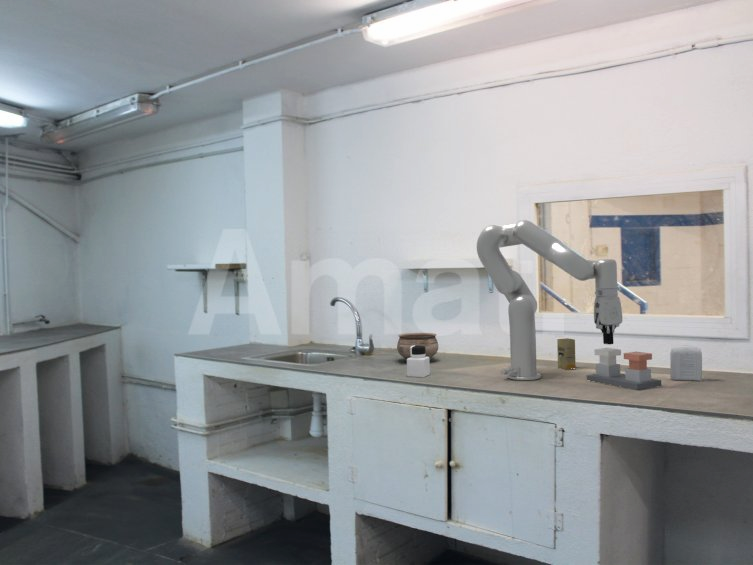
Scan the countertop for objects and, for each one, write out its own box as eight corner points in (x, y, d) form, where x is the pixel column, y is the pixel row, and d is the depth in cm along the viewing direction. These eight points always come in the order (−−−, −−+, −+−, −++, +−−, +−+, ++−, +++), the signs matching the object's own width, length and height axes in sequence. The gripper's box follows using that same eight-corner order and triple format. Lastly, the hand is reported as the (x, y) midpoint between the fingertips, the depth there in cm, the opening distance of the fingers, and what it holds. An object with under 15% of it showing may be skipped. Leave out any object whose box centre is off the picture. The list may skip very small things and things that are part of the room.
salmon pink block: (639, 372, 211) (639, 355, 211) (623, 370, 216) (623, 353, 216) (652, 370, 214) (651, 353, 214) (636, 368, 219) (636, 351, 219)
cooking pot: (418, 356, 301) (417, 331, 301) (450, 359, 289) (450, 333, 288) (384, 363, 282) (383, 336, 282) (417, 367, 270) (417, 338, 270)
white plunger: (608, 368, 222) (608, 351, 222) (594, 365, 228) (594, 349, 228) (621, 366, 225) (620, 349, 225) (607, 363, 231) (606, 347, 231)
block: (637, 390, 208) (636, 372, 208) (586, 380, 228) (586, 364, 228) (661, 385, 214) (661, 368, 214) (610, 376, 234) (609, 360, 233)
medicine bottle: (430, 374, 251) (429, 344, 251) (423, 377, 245) (422, 347, 244) (413, 373, 254) (412, 344, 254) (406, 376, 248) (406, 346, 247)
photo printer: (701, 379, 224) (700, 344, 224) (703, 381, 220) (702, 346, 219) (669, 378, 227) (669, 344, 227) (671, 380, 223) (670, 346, 223)
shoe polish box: (568, 367, 257) (567, 338, 257) (575, 369, 253) (574, 339, 252) (557, 368, 256) (557, 339, 256) (565, 370, 251) (564, 340, 251)
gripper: (600, 294, 219) (601, 346, 219) (629, 292, 226) (631, 342, 226) (583, 294, 226) (585, 345, 226) (612, 292, 233) (614, 341, 233)
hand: (608, 343), depth 226 cm, fingers closed
